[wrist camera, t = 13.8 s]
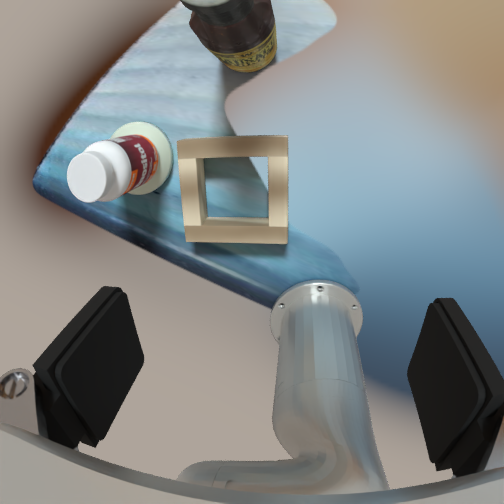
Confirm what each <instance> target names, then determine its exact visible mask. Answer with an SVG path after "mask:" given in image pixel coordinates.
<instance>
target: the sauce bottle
mask: <svg viewBox="0 0 504 504" xmlns="http://www.w3.org/2000/svg"><path fill="white" fill-rule="evenodd" d="M180 1H181V2H182V3H183V5H184V6H185V7H187V8H188V9H189V10H192V14H191V19H190V21H189V25H190V27H191V29H192V30H193V31H194V33H195V34H196V35H197V37H198V38H199V39H200V41H201V43H202V44H203V45H204V46H205V47H206V48H207V49H208V50H209V51H210V52H211V53H212V54H214V55H215V56H216V57H217V58H218V59H219V60H220V61H221V62H223V63H224V64H225V65H226V66H227V67H229V68H230V69H232V70H235V71H238V72H249V73H250V72H255V71H258V70H260V69H262V68H264V67H265V66H267V65H268V64H269V63H270V62H271V61H272V60H273V58H274V56H275V53H276V50H277V40H276V26H275V18H274V14H273V10H272V5H271V0H180Z"/></svg>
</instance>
